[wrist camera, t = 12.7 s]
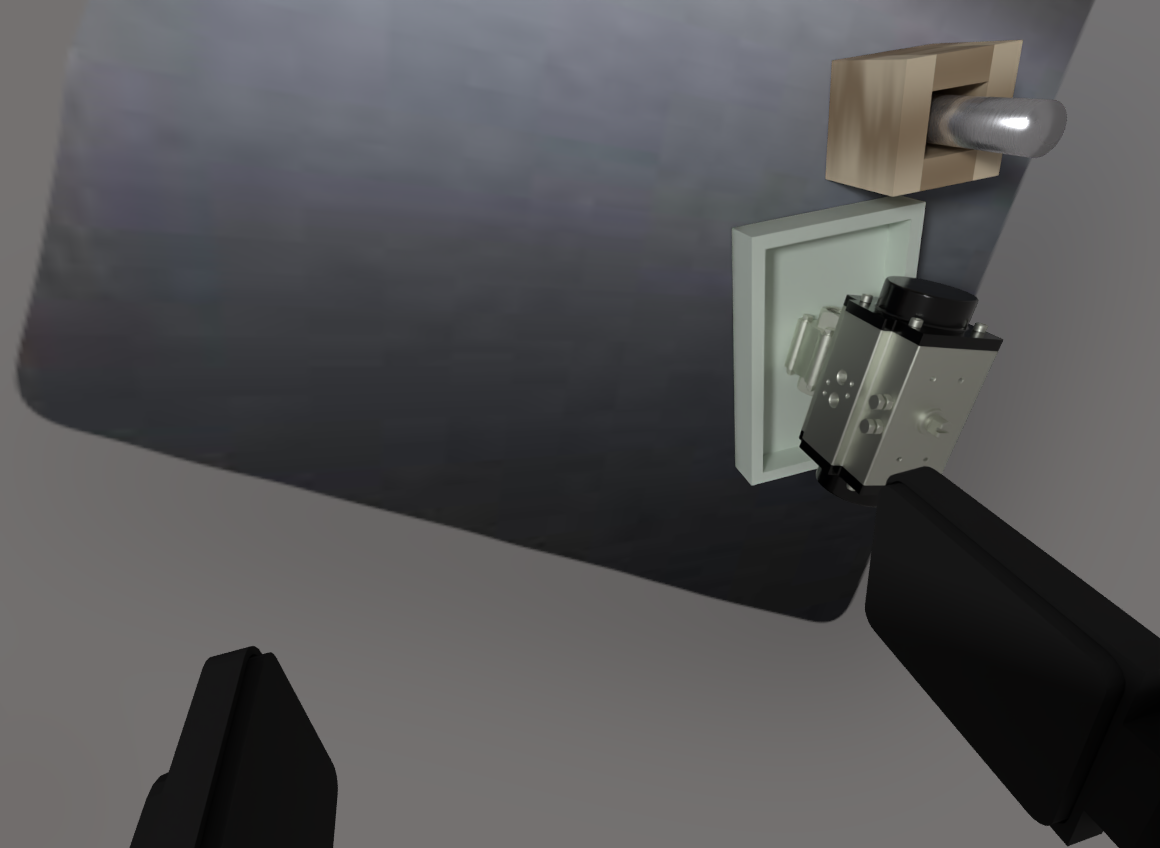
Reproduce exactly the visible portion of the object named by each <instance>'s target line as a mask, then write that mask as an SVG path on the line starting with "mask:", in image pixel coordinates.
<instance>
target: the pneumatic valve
mask: <svg viewBox="0 0 1160 848" xmlns="http://www.w3.org/2000/svg"><path fill="white" fill-rule="evenodd" d="M977 303H978V299H977V297H975V296H974V295H972V294H970V293H968V292H966V291H963V290H960V289H957V288H954V287H951V286H948V285H944V284H941V283H937V282H932V281H928V280H923V279H918V278H912V277H904V276H889V277H887V278H886V279H885V281H884V284H883V287H882V289H881V292H880V295H879V297H873V296H872V295H869V294H862V296H860V295H849V294H847V295H846V298H845V301H844V304H843V307H842V308H840V307H834V306H824V307H822V308H821V310H820V314H819V317H818V320H812V319H813V316H812V315H809V314H803V317H802V318H799V319H798V322H797V325H796V328H795V332H794V335H793V338H792V341H791V345H790V348H789V351H788V354H787V358H786V361H785V364H784V366H785V367H786V368H787V369H786V372H787V374H788V375H793V374H795V373H796V374H797V375H799V379H798V383H797V388H798V390H800V391H801V392H803V393H805V394H807V395H810V396H813V397H812V400H811V403H810V406H809V409H808V412H807V415H806V418H805V420H804V423H803V426H802V429H801V432H800V435H799V439H800V440H801V443H800V446H799V448H801V449H802V450H803V451H804V452H805V453H806V454H807V455H808V456H809V457H810V458H811V459H812V460H813V461H814V462H815V463H816V464H817V465H818V468H817V471H816V478H817V480H818V482H819V483H820V484H821V485H822V486H823V487H824V488H825V489H826V490H827V491H829V492H830V493H832V494H834V495H835V496H837V497H839V498H841V499H843V500H846V501H848V502H851V503H854V504H858V505H862V506H869V507H877V503H878V494H879V491H880V489H881V488H882V487H884V486H885V485H886V481H887V479H888V478H889V476H891V475H893V474H897V473H900V472H904V471H908V470H911V469H915V468H919V467H923V466H928V467H931V468H933V469H935V470H936V471H938V472H939V473H940V474H942V472H943V470H944V468H945V466H946V464H947V462H948V460H949V457H950V455H951V453H952V451H953V448H954V446H955V444H956V442H957V440H958V438H959V436H960V433H961V431H962V429H963V427H964V425H965V422H966V420H967V418H968V416H969V414H970V411H971V409H972V407H973V405H974V403H975V401H976V398H977V396H978V394H979V392H980V390H981V388H982V385H983V383H984V381H985V379H986V377H987V374H988V372H989V370H990V368H991V366H992V363H993V361H994V359H995V357H996V355H997V352H998V350H999V348H1000V346H1001V344H1002V342H1003V339H1001V338H999V337H996V336H994V335H992V334H990V333H988V332H986V330H987V327H988V326H987V325H985V324H982V323H975V325H974V326H972V325H970V324H969V322H970V320H971V317H972V315H973V313H974V310H975V308H976V305H977Z"/></svg>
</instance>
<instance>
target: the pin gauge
mask: <svg viewBox="0 0 1160 848" xmlns="http://www.w3.org/2000/svg"><path fill="white" fill-rule="evenodd" d="M1066 121H1067V114H1066V110H1065V107H1064V106H1063V104H1062V103H1060V102H1059V101H1057V100H1045V99H1025V98H1005V97H985V96H965V95H945V94H932V96H931V104H930V112H929V121H928V129H927V137H926V143H932V144H939V145H946V146H953V147H960V148H967V149H974V150H981V151H988V152H995V153H1002V154H1008V155H1015V156H1022V157H1029V158H1037V157H1041V156H1043V155H1045V154H1047V153H1048V152H1049V151H1050V150H1052V149H1053V148H1054V147H1055V146H1056V144H1057V143H1058V141H1059V140H1060V138H1061V137H1062V135H1063V132H1064V130H1065V126H1066Z"/></svg>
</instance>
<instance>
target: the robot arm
mask: <svg viewBox="0 0 1160 848" xmlns="http://www.w3.org/2000/svg"><path fill="white" fill-rule="evenodd" d="M865 612H866V616H867V619H868V622H869V623H870V625H871V627H872V628H873V629H874V631H875V632H876V633H877V634H878V636H879V637H880V638H881V639H882V641H883V642H884V643H885V644H886V645H887V647H888V648H889V649H890V650H891V651H892V652H893V654H894V655H895V656H896V657H897V658H898V660H899V661H900V662H901V663H902V664H903V666H904V667H906V669H907V670H908V671H909V672H910V674H911V675H912V676H913V677H914V679H915V680H916V681H917V682H918V683H919V684H920V686H921V687H922V688H923V689H924V690H925V692H926V693H927V694H928V695H929V696H930V697H931V699H932V700H933V701H934V702H935V703H936V705H937V706H938V707H939V708H940V709H941V710H942V712H943V713H944V714H945V715H946V717H947V718H948V719H949V720H950V721H951V722H952V724H953V725H954V726H955V727H956V728H957V730H958V731H959V732H960V733H961V734H962V736H963V737H964V738H965V739H966V740H967V741H968V743H969V744H970V745H971V746H972V747H973V748H974V750H975V751H976V752H977V753H978V754H979V756H980V757H981V758H982V759H983V760H984V762H985V763H986V764H987V765H988V766H989V767H990V769H991V770H992V771H993V772H994V773H995V774H996V776H997V777H998V778H999V779H1000V781H1001V782H1002V783H1003V784H1004V785H1005V786H1006V788H1007V789H1008V790H1009V791H1010V792H1011V794H1012V795H1013V796H1014V797H1015V798H1016V799H1017V801H1018V802H1019V803H1020V804H1021V805H1022V807H1023V808H1024V809H1025V810H1026V811H1027V812H1028V814H1029V815H1030V816H1031V817H1032V818H1033V819H1034V820H1036V821H1037V822H1039V823H1040V824H1043V825H1045V826H1049V825H1050V827H1051V828H1052V829H1053V830H1054V831H1055V832H1056V834H1057V835H1058V836H1059V837H1060V838H1061V839H1062V841H1064V843H1065V844H1066V845H1067V846H1070V845H1072V844H1075V843H1078V842H1080V841H1083V840H1085V839H1088V838H1091V837H1094V836H1096V835H1099V834H1102V832H1103V831H1104V832H1105V833H1106V834H1107V835H1108V837H1110V839H1111V840H1112V841H1113V842H1114V843H1115V844H1116V845H1117V846H1118V847H1119V848H1160V638H1159V637H1158V636H1156V635H1155V634H1153V633H1152V632H1151V631H1150V630H1148V629H1147V628H1145V627H1144V626H1143V625H1142V624H1140V623H1139V622H1137V621H1136V620H1135V619H1134V618H1132V617H1131V616H1130V615H1128V614H1127V613H1125V612H1124V611H1123V610H1121V609H1120V608H1119V607H1118V606H1116V605H1115V604H1114V603H1112V602H1111V601H1110V600H1108V599H1107V598H1106V597H1104V596H1103V595H1102V594H1100V593H1099V592H1098V591H1096V590H1095V589H1094V588H1092V587H1091V586H1090V585H1088V584H1087V583H1086V582H1084V581H1083V580H1082V579H1080V578H1079V577H1077V576H1076V575H1075V574H1074V573H1072V572H1071V571H1070V570H1068V569H1067V568H1066V567H1064V566H1063V565H1062V564H1060V563H1059V562H1058V561H1056V560H1055V559H1054V558H1052V557H1051V556H1050V555H1048V554H1047V553H1046V552H1044V551H1043V550H1042V549H1040V548H1039V547H1038V546H1036V545H1035V544H1034V543H1032V542H1031V541H1030V540H1028V539H1027V538H1026V537H1024V536H1023V535H1022V534H1020V533H1019V532H1018V531H1016V530H1015V529H1014V528H1012V527H1011V526H1010V525H1008V524H1007V523H1006V522H1004V521H1003V520H1002V519H1000V518H999V517H997V516H996V515H995V514H994V513H992V512H991V511H990V510H988V509H987V508H986V507H984V506H983V505H982V504H980V503H979V502H977V501H976V500H975V499H974V498H972V497H971V496H970V495H968V494H967V493H966V492H964V491H963V490H962V489H960V488H959V487H958V486H956V485H955V484H953V483H952V482H951V481H950V480H948V479H947V478H946V477H944V476H943V475H942V474H940V473H939V472H938V471H936V470H935V469H933V468H931V467H928V466H923V467H919V468H915V469H911V470H908V471H904V472H900V473H897V474H893V475H891V476H889V478H888V479H887V481H886V485H885V486H884V487H882V488H881V489H880V491H879V494H878V503H877V511H876V519H875V527H874V536H873V544H872V552H871V560H870V569H869V577H868V585H867V593H866V602H865ZM337 792H338V785H337V775H336V771H335V768H334V765H333V763H332V761H331V759H330V757H329V756H328V754H327V752H326V750H325V748H324V746H323V744H322V742H321V740H320V739H319V737H318V735H317V733H316V731H315V729H314V727H313V725H312V724H311V722H310V720H309V718H308V716H307V715H306V712H305V710H304V709H303V707H302V705H301V703H300V701H299V699H298V697H297V695H296V694H295V692H294V690H293V688H292V686H291V684H290V683H289V681H288V679H287V677H286V675H285V673H284V671H283V669H282V667H281V666H280V664H279V662H278V660H277V658H276V657H275V655H274V654H273V653H271V652H270V653H266V654H262V653H261V652H260V650H259V649H258V648H256V647H255V646H251V647H247V648H243V649H239V650H235V651H232V652H228V653H224V654H221V655H217V656H213V657H210V658H209V659H208V660H207V661H206V662H205V664H204V666H203V669H202V672H201V675H200V678H199V681H198V684H197V687H196V690H195V693H194V696H193V699H192V702H191V706H190V709H189V712H188V715H187V718H186V721H185V724H184V727H183V730H182V733H181V736H180V739H179V742H178V745H177V748H176V751H175V754H174V758H173V761H172V764H171V767H170V770H169V772H168V773H166V774H164V775H161V776H160V777H159V778H158V779H157V781H156V782H155V783H154V784H153V786H152V788H151V790H150V792H149V794H148V797H147V799H146V802H145V805H144V808H143V810H142V813H141V816H140V819H139V822H138V825H137V828H136V831H135V833H134V836H133V839H132V842H131V845H130V848H333V841H334V830H335V818H336V807H337V806H336V805H337V795H338V793H337Z"/></svg>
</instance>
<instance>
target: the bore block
mask: <svg viewBox="0 0 1160 848" xmlns="http://www.w3.org/2000/svg"><path fill="white" fill-rule="evenodd" d="M1022 43H1023V40H1008V41H985V42H962V43H940V44H929V45H923V46H917V47H911V48H905V49H899V50H893V51H887V52H881V53H875V54H869V55H863V56H857V57H851V58H845V59H838V60H832V70H831V88H830V107H829V125H828V144H827V162H826V179H827V180H831V181H835V182H838V183H842V184H846V185H850V186H854V187H857V188H861V189H865V190H869V191H873V192H877V193H880V194H884V195H888V196H892V197H894V196H899V195H904V194H909V193H914V192H919V191H924V190H929V189H934V188H939V187H944V186H949V185H954V184H959V183H964V182H969V181H973V180H978V179H983V178H988V177H993V176H998V175H999V170H1000V165H1001V159H1002V153H995V152H988V151H981V150H974V149H967V148H960V147H953V146H946V145H939V144H932V143H926V137H927V129H928V121H929V112H930V104H931V96H932V94H945V95H965V96H985V97H1005V98H1013V93H1014V87H1015V81H1016V76H1017V70H1018V65H1019V59H1020V54H1021V48H1022Z"/></svg>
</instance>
